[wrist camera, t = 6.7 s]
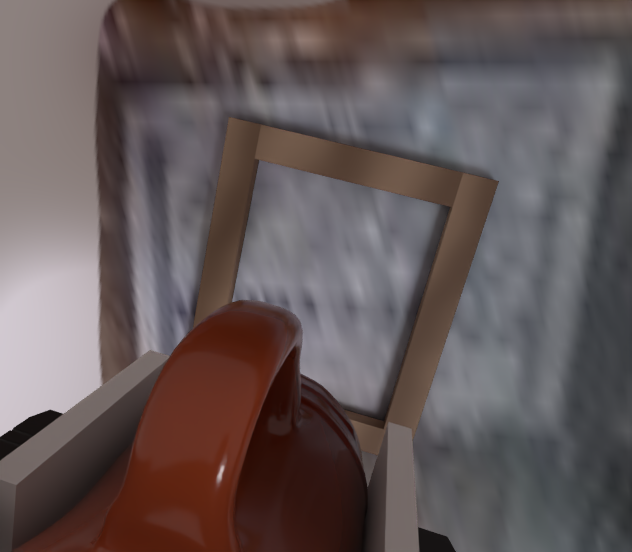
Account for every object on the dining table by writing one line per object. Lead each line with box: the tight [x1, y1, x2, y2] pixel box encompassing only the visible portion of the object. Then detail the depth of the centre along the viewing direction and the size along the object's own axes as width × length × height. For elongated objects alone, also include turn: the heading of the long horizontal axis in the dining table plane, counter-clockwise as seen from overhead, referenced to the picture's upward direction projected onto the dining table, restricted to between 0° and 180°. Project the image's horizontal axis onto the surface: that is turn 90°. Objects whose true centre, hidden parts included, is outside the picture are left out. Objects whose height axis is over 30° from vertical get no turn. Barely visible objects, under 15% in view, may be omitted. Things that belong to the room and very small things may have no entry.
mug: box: [11, 300, 368, 552], centre depth 11 cm, size 12×9×10 cm
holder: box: [193, 117, 499, 455], centre depth 29 cm, size 16×19×1 cm
